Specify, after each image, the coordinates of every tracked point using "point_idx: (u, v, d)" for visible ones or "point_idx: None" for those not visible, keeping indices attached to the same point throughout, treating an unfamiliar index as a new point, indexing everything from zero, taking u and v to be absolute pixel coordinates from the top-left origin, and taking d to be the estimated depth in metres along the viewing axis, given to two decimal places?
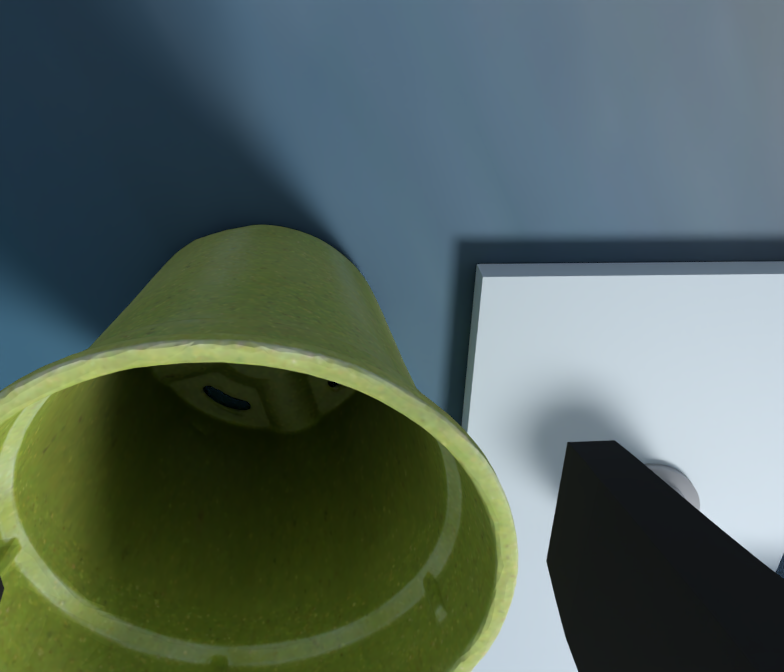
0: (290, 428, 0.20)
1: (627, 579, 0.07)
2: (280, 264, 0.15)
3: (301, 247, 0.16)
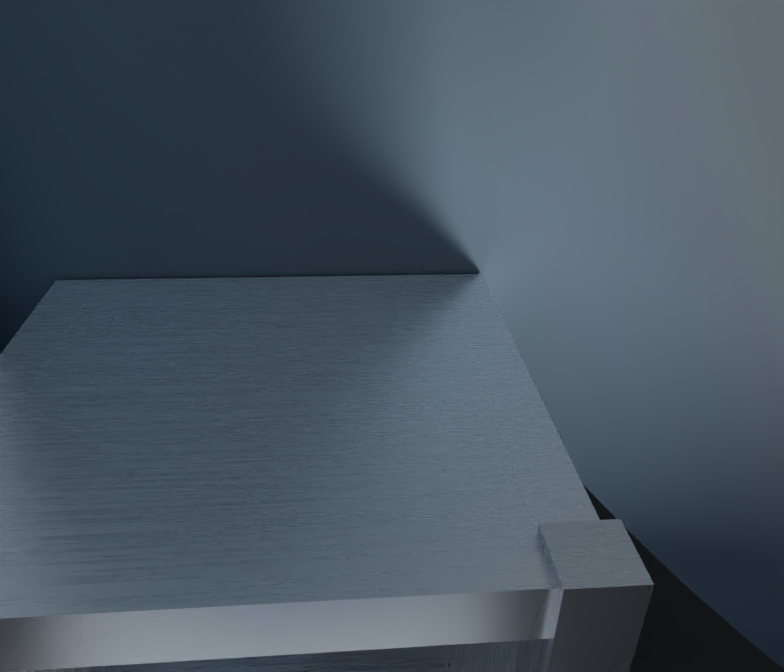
0: None
1: None
2: None
3: None
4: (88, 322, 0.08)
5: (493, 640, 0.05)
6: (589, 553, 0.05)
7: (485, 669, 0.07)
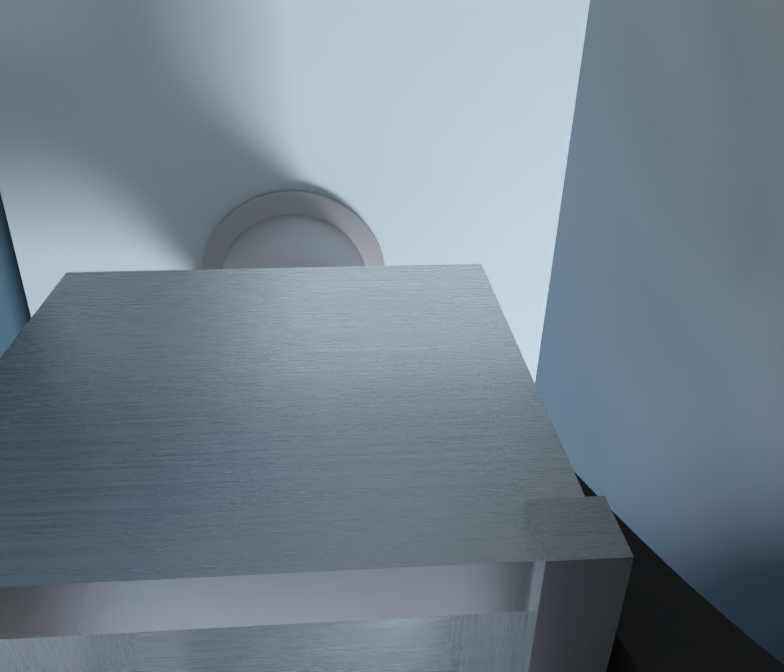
0: None
1: None
2: None
3: None
4: (96, 312, 0.08)
5: (480, 612, 0.05)
6: (572, 528, 0.05)
7: (481, 648, 0.07)
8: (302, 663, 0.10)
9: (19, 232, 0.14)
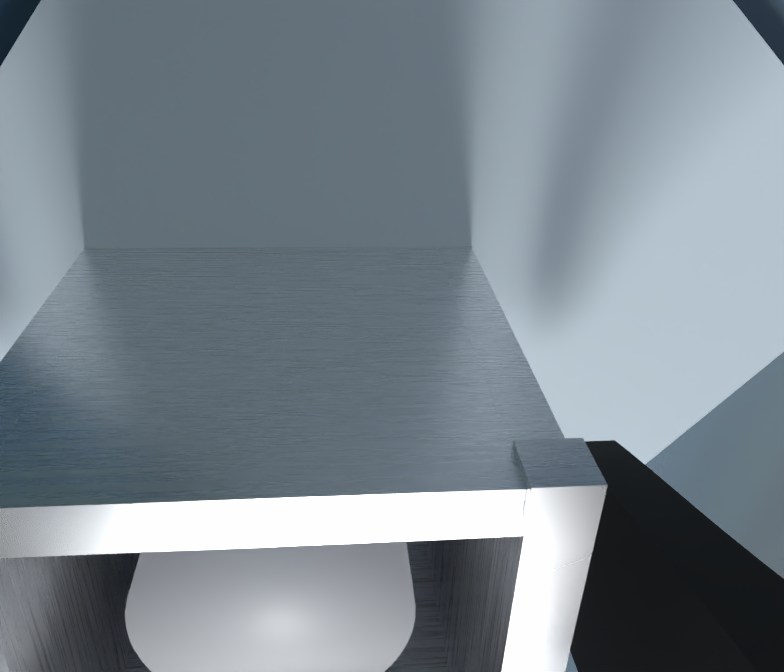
0: None
1: (626, 579, 0.07)
2: None
3: None
4: (116, 283, 0.09)
5: (473, 537, 0.06)
6: (555, 462, 0.06)
7: (470, 590, 0.08)
8: None
9: None
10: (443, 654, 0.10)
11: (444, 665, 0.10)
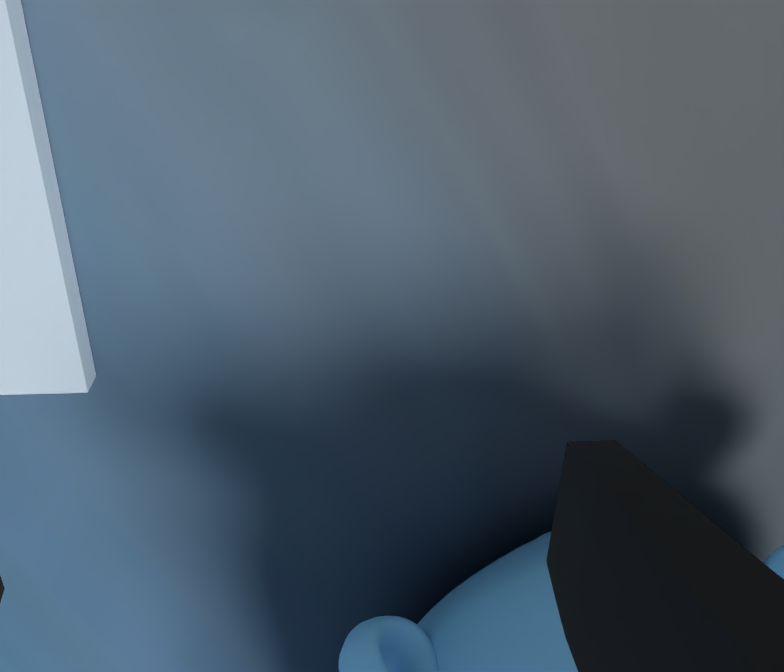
0: None
1: (627, 579, 0.07)
2: None
3: None
4: None
5: None
6: None
7: None
8: None
9: None
10: None
11: None
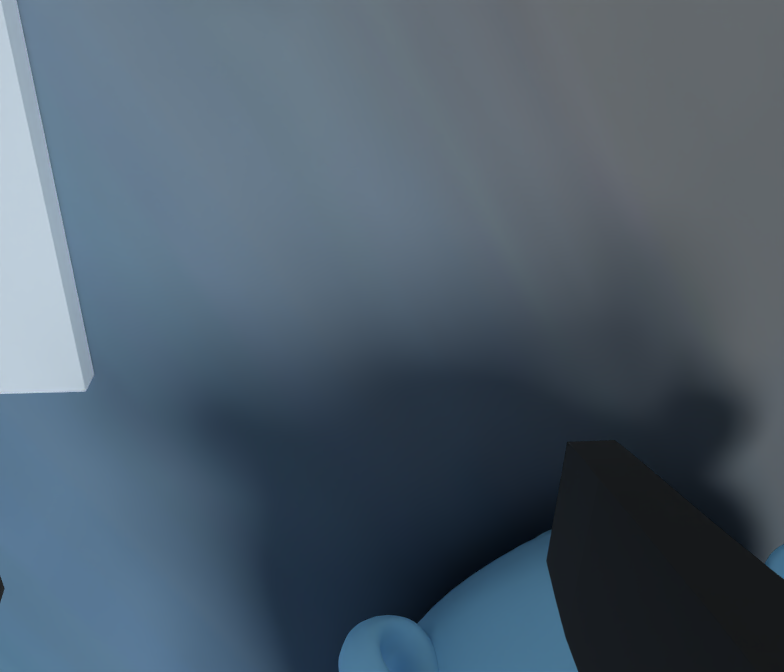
0: None
1: (626, 579, 0.07)
2: None
3: None
4: None
5: None
6: None
7: None
8: None
9: None
10: None
11: None
